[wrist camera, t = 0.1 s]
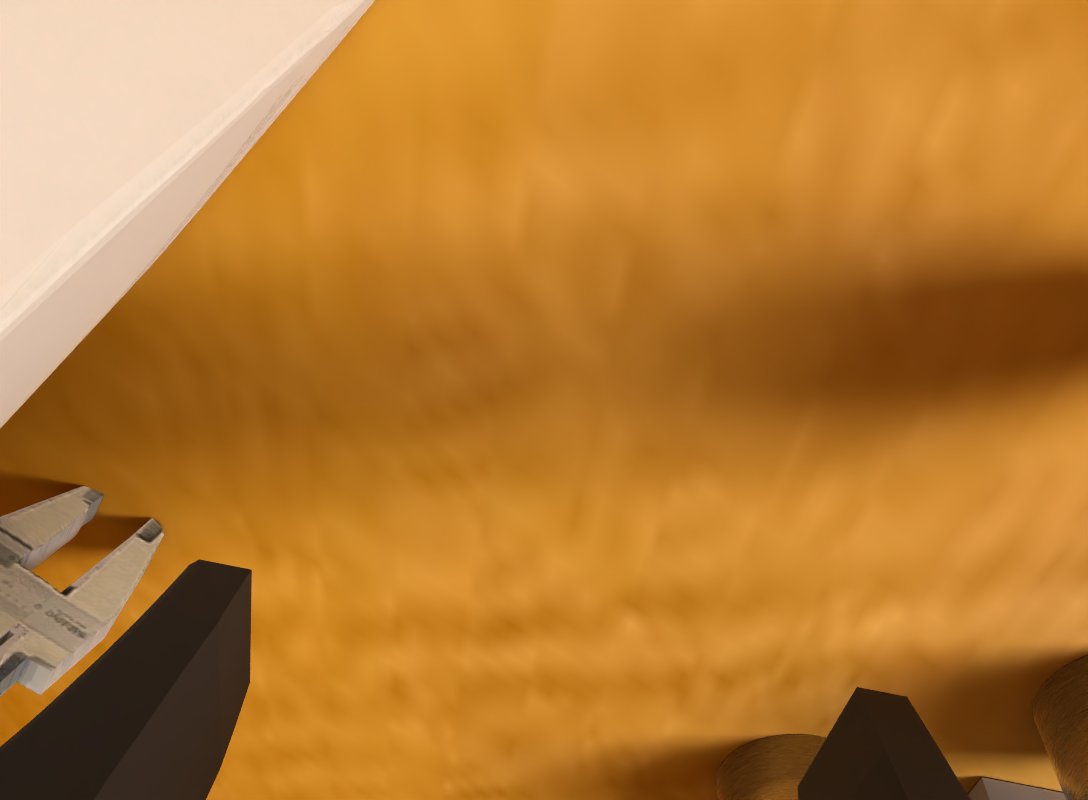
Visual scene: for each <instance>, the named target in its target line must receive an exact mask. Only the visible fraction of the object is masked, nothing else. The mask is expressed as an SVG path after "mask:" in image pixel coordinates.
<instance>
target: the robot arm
mask: <svg viewBox="0 0 1088 800" xmlns="http://www.w3.org/2000/svg"><path fill="white" fill-rule="evenodd" d="M251 574H252V570H250V569H245V568H240V567H235V566H230V565H224V564H219V563H214V562H209V561H204V560H198V561H196V562H194V563H192V564H190V565H189V566H188V567H187V568H186V569H185V570H184V571H183V572H182V574H181V575H180V576H179V577H178V578H177V579H176V580H175V581H174V582H173V583H172V585H171V586H170V587H169V588H168V589H167V590H166V591H165V592H164V593H163V594H162V595H161V596H160V597H159V598H158V599H157V600H156V602H155V603H154V604H153V605H152V606H151V607H150V608H149V609H148V610H147V611H146V612H145V613H144V614H143V615H142V616H141V617H140V618H139V619H138V620H137V621H136V622H135V623H134V624H133V625H132V626H131V627H130V628H129V629H128V630H127V631H126V632H125V633H124V634H123V635H122V636H121V637H120V638H119V639H118V640H117V641H116V642H115V643H114V644H113V645H112V646H111V647H110V648H109V649H108V650H107V651H106V652H105V653H104V654H103V655H102V656H101V657H100V658H99V659H98V660H96V661H95V662H94V663H93V664H92V665H91V666H90V667H89V668H88V669H87V670H86V671H85V672H84V673H83V674H82V675H80V676H79V677H78V678H77V679H76V680H75V681H74V682H73V683H72V684H71V685H70V686H69V687H68V688H67V689H65V690H64V691H63V692H62V693H61V694H60V695H59V696H58V697H57V698H56V699H55V700H54V701H53V702H52V703H50V704H49V705H48V706H47V707H46V708H45V709H44V710H43V711H42V712H40V713H39V714H38V715H37V716H36V717H35V718H34V719H33V720H31V721H30V722H29V723H28V724H27V725H26V726H24V727H23V728H22V729H21V730H20V731H19V732H17V733H16V734H15V735H14V736H13V737H11V738H10V739H9V740H8V741H7V742H6V743H4V744H3V745H2V746H1V747H0V800H206V798H207V796H208V794H209V791H210V789H211V787H212V785H213V783H214V781H215V778H216V776H217V774H218V772H219V770H220V767H221V765H222V762H223V759H224V756H225V753H226V751H227V748H228V745H229V742H230V739H231V737H232V734H233V731H234V728H235V725H236V722H237V719H238V716H239V713H240V710H241V707H242V704H243V701H244V698H245V695H246V692H247V689H248V686H249V683H250V639H251ZM798 800H970V798H969V796H968V795H967V793H966V792H965V790H964V788H963V787H962V785H961V784H960V782H959V780H958V779H957V777H956V775H955V774H954V772H953V771H952V769H951V767H950V766H949V764H948V762H947V761H946V759H945V758H944V756H943V754H942V753H941V751H940V749H939V748H938V746H937V745H936V743H935V741H934V740H933V738H932V736H931V735H930V733H929V732H928V730H927V728H926V727H925V725H924V723H923V722H922V720H921V719H920V717H919V715H918V714H917V712H916V710H915V709H914V707H913V706H912V704H911V703H910V701H909V699H908V698H907V697H905V696H900V695H895V694H890V693H884V692H879V691H874V690H869V689H864V688H859V687H857V688H856V690H855V691H854V693H853V695H852V696H851V698H850V700H849V701H848V703H847V705H846V706H845V708H844V710H843V711H842V713H841V715H840V716H839V718H838V720H837V721H836V723H835V725H834V726H833V728H832V730H831V731H830V733H829V735H828V736H827V738H826V740H825V742H824V743H823V745H822V747H821V748H820V750H819V752H818V753H817V755H816V757H815V758H814V760H813V762H812V763H811V765H810V767H809V768H808V770H807V772H806V773H805V775H804V777H803V778H802V780H801V782H800V783H799V785H798Z"/></svg>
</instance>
